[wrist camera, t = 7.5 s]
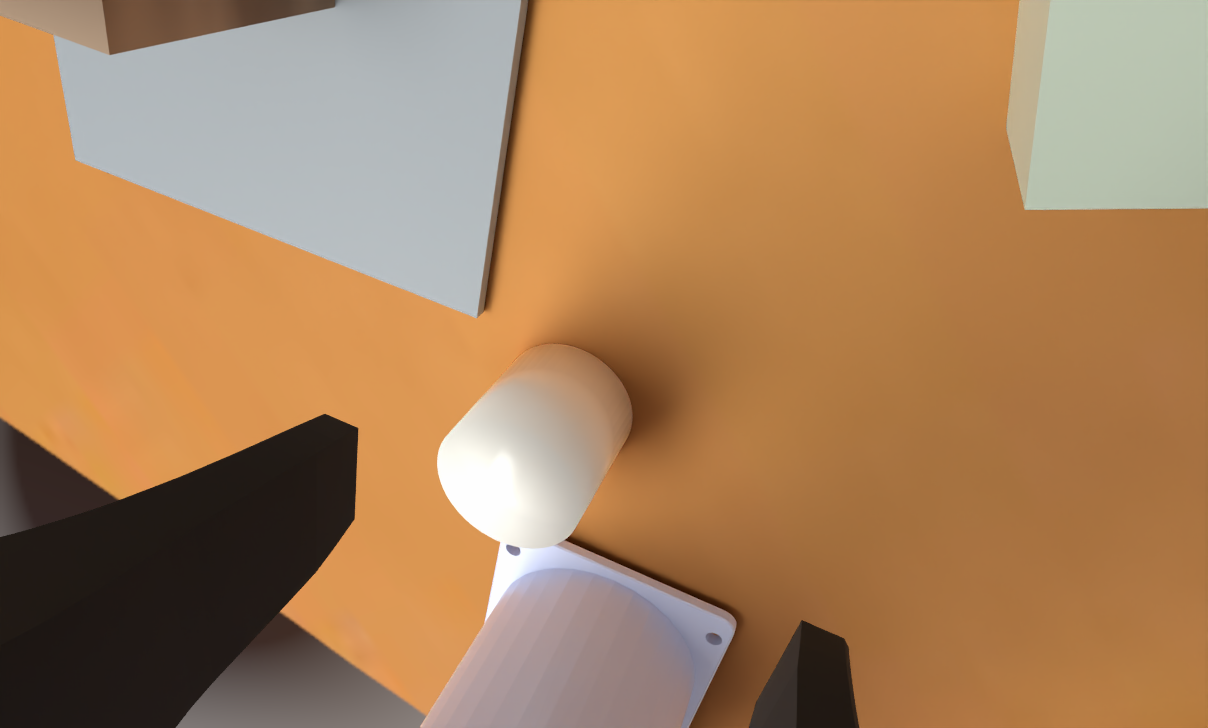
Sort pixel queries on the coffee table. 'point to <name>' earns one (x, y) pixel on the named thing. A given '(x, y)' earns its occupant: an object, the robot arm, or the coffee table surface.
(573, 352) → the cream rounded cylinder
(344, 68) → the slate board
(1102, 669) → the coffee table surface
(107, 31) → the walnut block
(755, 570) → the coffee table surface
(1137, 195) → the sage block
